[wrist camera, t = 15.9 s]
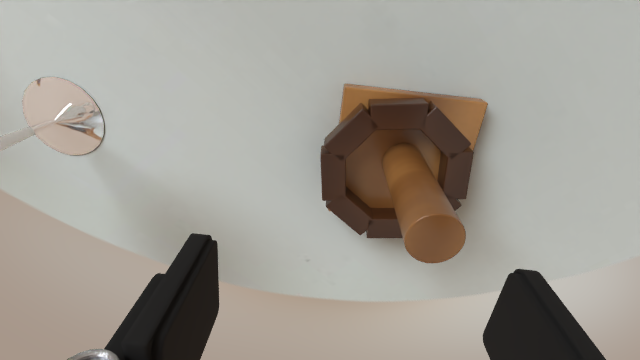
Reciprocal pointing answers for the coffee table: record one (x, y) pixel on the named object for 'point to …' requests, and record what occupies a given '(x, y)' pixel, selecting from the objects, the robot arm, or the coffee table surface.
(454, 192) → the ring
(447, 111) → the wooden peg stand
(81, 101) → the wineglass
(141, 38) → the coffee table surface
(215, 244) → the robot arm
